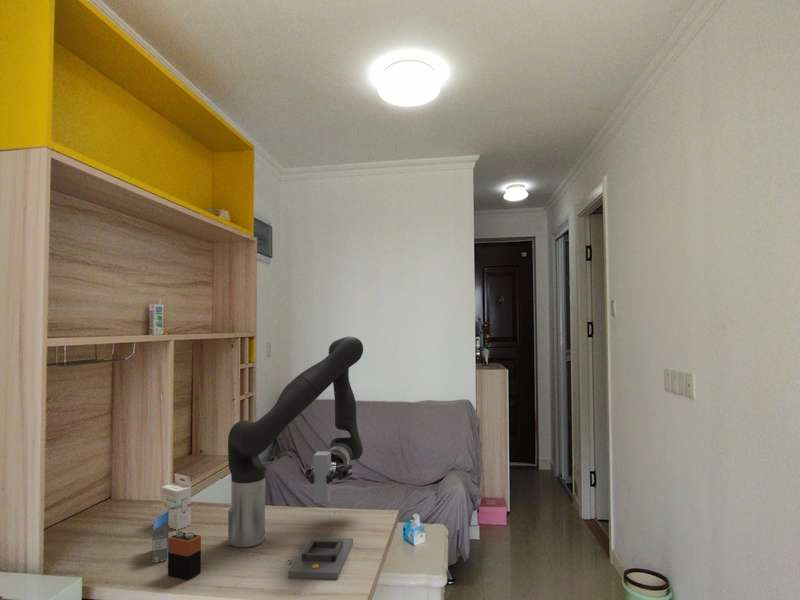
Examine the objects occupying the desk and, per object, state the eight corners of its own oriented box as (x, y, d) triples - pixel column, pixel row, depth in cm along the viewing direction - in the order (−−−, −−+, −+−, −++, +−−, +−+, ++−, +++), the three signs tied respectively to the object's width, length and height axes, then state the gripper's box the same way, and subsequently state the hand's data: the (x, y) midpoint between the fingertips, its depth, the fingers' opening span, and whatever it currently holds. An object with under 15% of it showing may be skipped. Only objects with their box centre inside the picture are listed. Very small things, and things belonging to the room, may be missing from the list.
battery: (187, 581, 119) (188, 538, 120) (166, 576, 122) (167, 533, 123) (201, 573, 123) (202, 531, 124) (181, 568, 126) (181, 527, 126)
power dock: (288, 577, 120) (288, 564, 120) (310, 542, 140) (310, 531, 140) (337, 579, 119) (337, 566, 119) (353, 543, 139) (353, 532, 139)
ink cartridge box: (159, 525, 154) (160, 476, 155) (174, 520, 158) (175, 472, 159) (176, 531, 150) (177, 480, 151) (191, 525, 154) (192, 476, 155)
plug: (313, 502, 129) (313, 455, 129) (317, 497, 133) (317, 451, 133) (327, 503, 128) (327, 455, 129) (331, 497, 132) (330, 451, 133)
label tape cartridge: (153, 550, 137) (154, 503, 138) (169, 547, 138) (169, 501, 139) (151, 563, 129) (152, 514, 129) (168, 560, 130) (168, 512, 131)
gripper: (310, 448, 146) (292, 464, 129) (358, 449, 145) (347, 465, 128) (310, 475, 146) (292, 494, 128) (359, 475, 144) (347, 495, 127)
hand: (319, 479), depth 128 cm, fingers closed on plug, 3 cm apart
